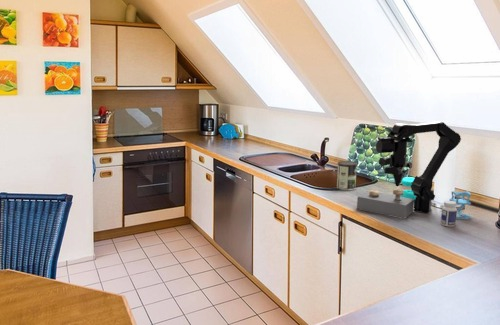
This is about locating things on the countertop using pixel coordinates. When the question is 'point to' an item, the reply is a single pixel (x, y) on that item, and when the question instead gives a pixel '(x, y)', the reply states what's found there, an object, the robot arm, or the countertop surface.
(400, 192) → the near cap
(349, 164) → the coffee can
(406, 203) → the housing
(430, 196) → the robot arm
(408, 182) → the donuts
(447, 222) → the pill bottle
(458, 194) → the chair
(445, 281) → the countertop surface
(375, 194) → the far cap
